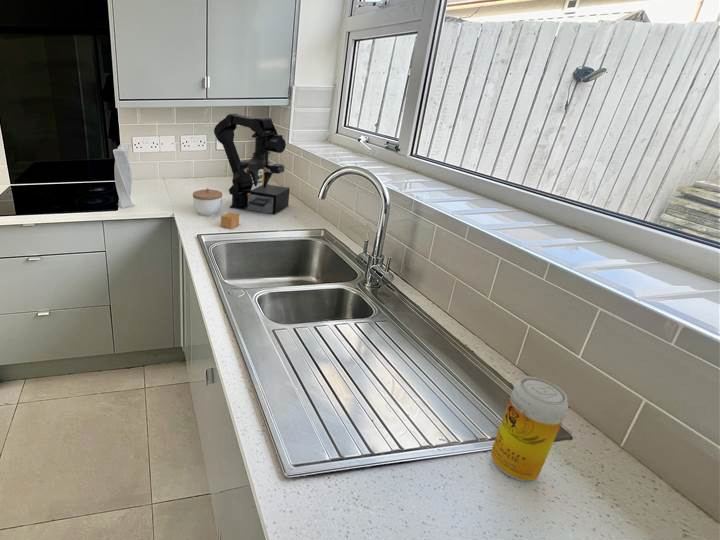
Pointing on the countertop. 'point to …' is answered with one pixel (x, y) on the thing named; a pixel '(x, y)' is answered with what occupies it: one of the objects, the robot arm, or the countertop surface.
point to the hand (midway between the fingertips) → (260, 186)
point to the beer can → (529, 428)
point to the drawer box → (274, 195)
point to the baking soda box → (260, 179)
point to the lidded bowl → (207, 201)
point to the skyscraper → (123, 176)
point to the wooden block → (229, 220)
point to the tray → (261, 203)
